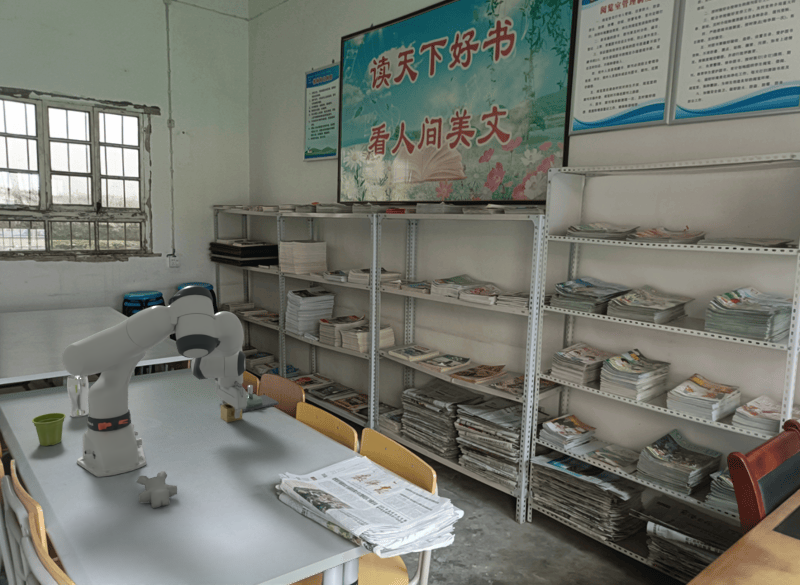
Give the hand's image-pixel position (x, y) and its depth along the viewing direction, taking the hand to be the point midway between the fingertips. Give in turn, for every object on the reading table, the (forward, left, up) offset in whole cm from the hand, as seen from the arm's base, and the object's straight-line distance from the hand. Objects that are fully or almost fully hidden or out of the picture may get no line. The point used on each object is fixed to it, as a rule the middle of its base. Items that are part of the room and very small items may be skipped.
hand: (231, 414), depth 211 cm
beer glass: (+38, +44, -2) cm, 58 cm away
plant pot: (+14, +57, -2) cm, 59 cm away
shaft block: (+9, -12, -2) cm, 15 cm away
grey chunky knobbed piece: (-45, +41, -2) cm, 61 cm away
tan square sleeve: (0, 0, -2) cm, 2 cm away
